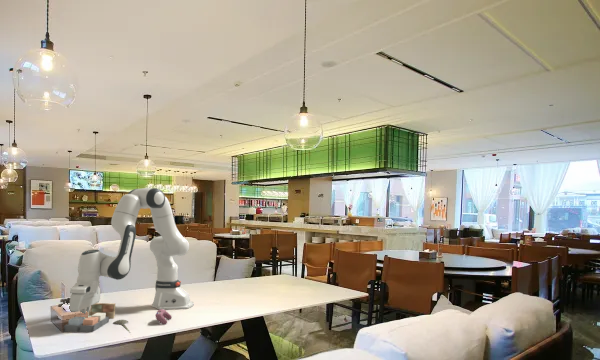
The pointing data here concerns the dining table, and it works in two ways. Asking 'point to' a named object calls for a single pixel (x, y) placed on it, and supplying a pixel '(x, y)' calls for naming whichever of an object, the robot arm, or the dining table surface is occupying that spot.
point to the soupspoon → (122, 323)
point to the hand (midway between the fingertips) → (84, 317)
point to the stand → (103, 309)
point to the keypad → (85, 326)
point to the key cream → (99, 316)
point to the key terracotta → (90, 321)
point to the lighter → (64, 301)
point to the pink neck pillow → (162, 316)
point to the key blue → (76, 321)
